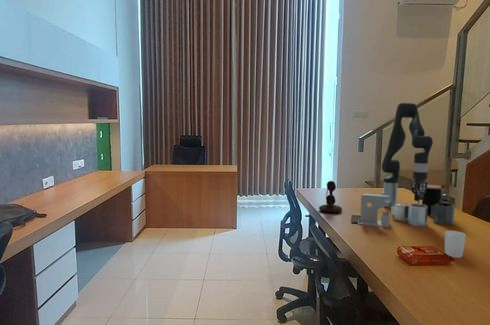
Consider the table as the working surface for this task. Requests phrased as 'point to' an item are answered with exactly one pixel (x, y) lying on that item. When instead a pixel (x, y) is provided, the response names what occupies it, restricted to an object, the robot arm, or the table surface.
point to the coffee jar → (431, 196)
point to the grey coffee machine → (374, 210)
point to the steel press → (416, 214)
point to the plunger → (419, 198)
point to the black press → (443, 211)
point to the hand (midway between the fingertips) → (418, 200)
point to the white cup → (454, 243)
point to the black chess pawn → (330, 200)
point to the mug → (399, 211)
